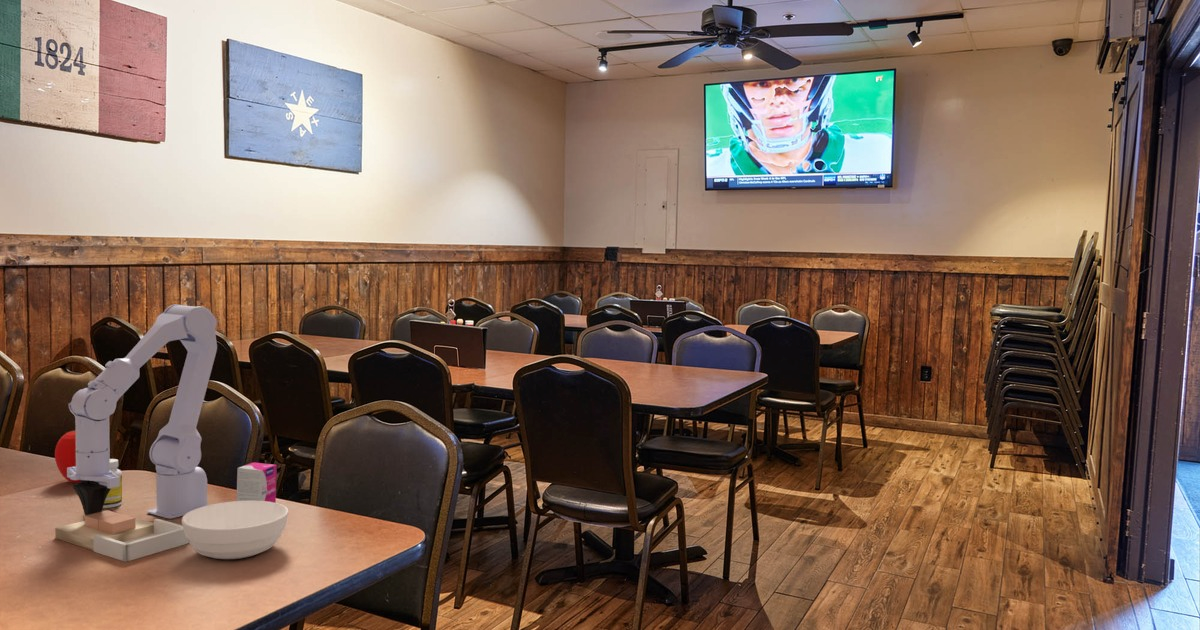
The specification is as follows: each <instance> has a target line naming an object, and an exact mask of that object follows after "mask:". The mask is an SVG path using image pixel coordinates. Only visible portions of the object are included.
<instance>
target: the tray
mask: <svg viewBox="0 0 1200 630" xmlns="http://www.w3.org/2000/svg"><path fill="white" fill-rule="evenodd" d="M153 523H154V533H153V534H149V535H146V536H142V537H138V538H135V539H131V540H127V541H124V542H121V541H118V540H115V539H111V538H108V537H105V536H102V535H98V534H97V535H93V546H94V550H93V552H95V553H97V554H99V555H103V556H106V557H110V558H112V559H116V560H118V561H122V562H125V563H127V562H130V561H133V560H136V559H140V558H143V557H148V556H149V555H153V554H157V553H160V552H164V551H167V550H170V549H175V548H177V547H181V546H184V545H187V544H190V541H189V539H188V538H187V537H186V536H185V534H184V529H183V525H182V524H179V523H174V522H171V521H167V520H164V519H160V518H155V519H153Z"/></svg>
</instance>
